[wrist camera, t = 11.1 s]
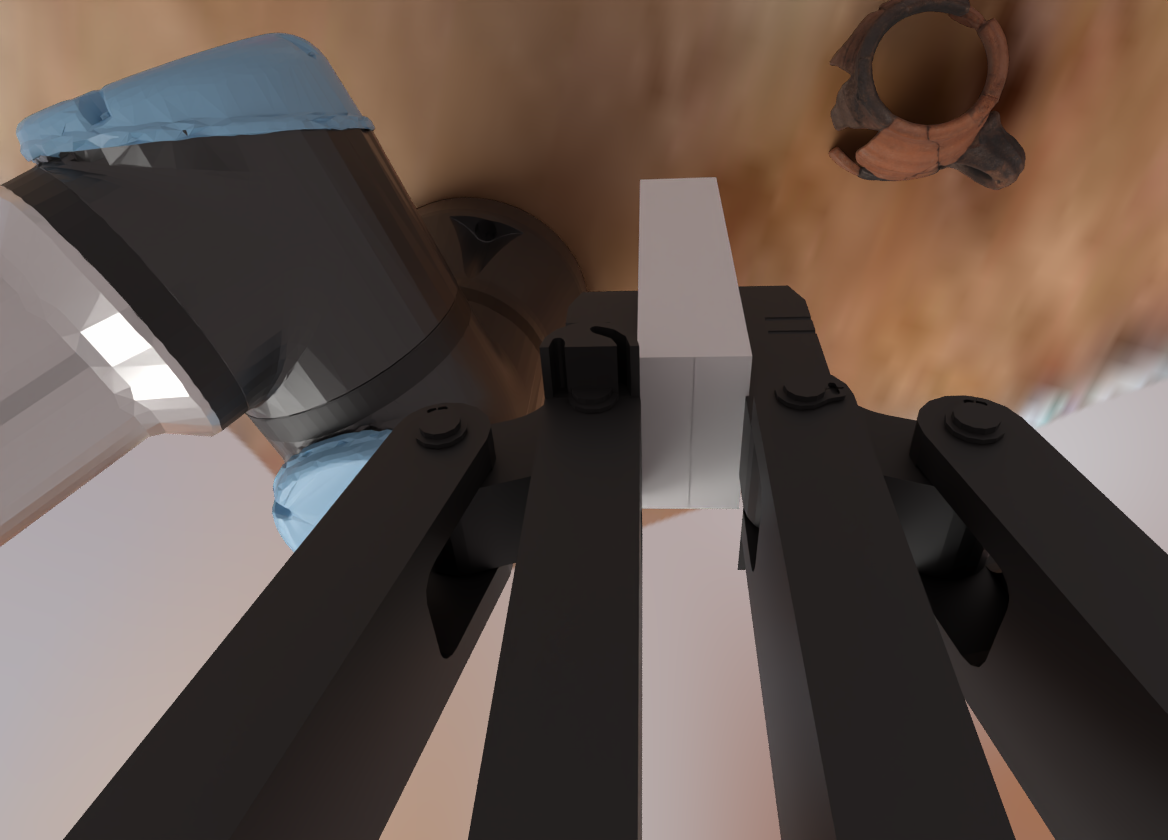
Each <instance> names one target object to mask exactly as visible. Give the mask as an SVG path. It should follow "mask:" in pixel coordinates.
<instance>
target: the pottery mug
mask: <svg viewBox="0 0 1168 840" xmlns="http://www.w3.org/2000/svg"><path fill="white" fill-rule="evenodd" d="M928 11H935V12H943V13H948V15H949V16H950V17H951V18H952V19H953V20H955V21H957V22H959V23H961V24H963V25H965V26H967V27H970V28H974V29H975V30H976V31H977V33H978V36H979V37H980V39H981V41H982V43H983V45H984V48H985V51H986V55H987V61H988V74H987V79H986V83H985V86H984V89H983V91H982V93H981V94H980V96H979V99H978V100H977V101H976V103H975V104H974V105H973V106H972V107H971V108H970V109H969V110H968V111H966V112H965V113H964V114H962V115H961V116H959V117H958V118H955V119H953V120H951V121H948V122H945V123H942V124H935V125H923V124H916V123H912V122H909V121H906V120H904V119H902V118H900V117H898V116H896V115H893V114H892V113H891V112H890V110H889V109H888V108H887V107H886V106H885V105H884V104H883V102H882V101H881V99H880V98H879V96H878V94H877V91H876V88H875V85H874V81H873V75H872V61H873V57H874V53H875V51H876V48H877V46H878V44H879V42H880V40H881V38H882V37H883V36H884V34H885V33H886V32H887V31H888V30H889V29H890V28H891V27H892V26H893V25H895V24H896V23H897V22H899V21H900V20H902V19H904V18H906V17H908V16H911V15H914V14H917V13H921V12H928ZM829 64H830V65H832V66H834V65H836V66H838V67H839V68H841V69H843V70H845V71H846V72H848V73H849V74H850V75H851V77H850V79H849V80H848V81H847V82H845V83H844V84H843V85H842V87H841V89H840V91H839V92H838V95H837V99H836V104H835V106H834V107H833V109H832V111H831V118H832V122H833V125H834V127H835V129H836V130H837V131H840V130H843V129H845V128H847V127H850V128H854V129H861V128H864V129H873V130H878V133H877V134H876V135H875V136H874V137H873V138H872V139H871V140H870V141H869V142H868V143H867V144H866V145H864V146H863V147H861V148H859V149H858V150H857V151H856V161H857V162H858V163H859V164H860V165H862V166H863V167H861V166H859V165H857V164H856V163H855V162H853V161H852V160H851V159H850V158H849V157H848V156H847V155H846V154H844V153H843V151H842V150H841V149H840V148H838V147H835V148H833V149H832V150H831V151H829V156H830V157H831V158H832V159H833V160H834V162H835V163H837V164H838V165H839V166H840V167H842V168H843V169H845V170H846V171H849V172H850V173H852V174H854V175H857V176H858V177H860V178H862V179H866V180H880V181H901V180H910V179H917V178H922V177H926V176H929V175H932V174H935V173H937V172H938V171H939V170H941V169H944V168H946V167H950V168H954V169H957V170H959V171H960V172H962V173H963V174H965V175H966V176H968V177H969V178H971V179H972V180H974V181H975V182H977V183H979V184H981V185H983V186H985V187H987V188H990V189H993V190H999V189H1001V188H1004V187H1007V186H1009V185H1011V184H1012V183H1014V182H1015V181H1016V180H1017V178H1018V176H1019V174H1020V173H1021V172H1022V171H1023V169H1024V166H1025V152H1024V150H1023V148H1022V147H1021V145H1020V144H1019V143H1018V142H1017V140H1016V139H1015V138H1014V137H1013V136H1011V135H1010V134H1009V133H1007V132H1006V131H1005V129H1004V128H1003V127H1002V124H1001V121H1000V114H999V113H998V112H997V111H992V112H990V111H991V109H992V108H993V107H994V106H995V104H996V103H998V101H999V98H1000V95H1001V92H1002V90H1003V88H1004V85H1005V81H1006V78H1007V73H1008V67H1009V53H1008V46H1007V40H1006V36H1005V35H1004V32H1003V30H1002V28H1001V26H1000V25H999V23H998V21H997V20H996V19H995V18H992V19H990V20H988V21H986V20H984V17H983V16H982V15H981V14H980V13H979V12H978V11H977V10H976V9H974V8H973V7H972V6H970V3H969V0H890V1H888V2H886V3H884V4H882V5H881V6H880V7H879V11H876V12H873V13H870V14H868V15H867V16H866V17H865V18H864V19H863V21H862V22H861V23H860V24H859V25H858V27H857V28H856V29H855V31H854V32H853V34H852V35H851V36H850V38H849V39H848V40H847V41H846V42H845V44H844V45H843V46H842V47H841V48H840V49H839V50H838V51H837V52H836V54H835V55H834V56H833V58H832V59H831V60H830V62H829ZM989 112H990V113H989Z"/></svg>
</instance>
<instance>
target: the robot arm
mask: <svg viewBox="0 0 1168 840" xmlns="http://www.w3.org/2000/svg"><path fill="white" fill-rule="evenodd" d="M373 130H375V127H374V125H373V123H372V121H371V120H370V119H368V118H367V117H365V116H362V114H361V113H360V111H359V110H358V108H357V106H356V105H355V103H354V102H353V100H352V98H351V97H350V95H349V94H348V92H347V90H346V89H345V87H344V86H343V84H342V82H341V81H340V79H339V78H338V76H337V74H336V73H335V71H334V70H333V68H332V66H331V65H330V63H329V62H328V60H327V59H326V57H325V56H324V55H323V54H322V53H321V51H320V50H319V49H318V48H316V47H315V46H314V45H313V44H311V43H310V42H308V41H306V40H305V39H303V38H300V37H298V36H295V35H291V34H286V33H270V34H264V35H259V36H255V37H251V38H247V39H243V40H239V41H236V42H232V43H229V44H225V45H222V46H219V47H215V48H212V49H209V50H206V51H202V52H199V53H196V54H193V55H190V56H187V57H184V58H181V59H178V60H174V61H172V62H169V63H166V64H163V65H160V66H157V67H154V68H151V69H149V70H146V71H143V72H140V73H137V74H134V75H131V76H129V77H126V78H124V79H121V80H118V81H116V82H113V83H110V84H108V85H106V86H104V87H103V88H102V89H101V90H94V91H91V92H88V93H86V94H83V95H81V96H79V97H76V98H74V99H71V100H66V101H62V102H60V103H57V104H55V105H52V106H50V107H48V108H45V109H43V110H41V111H39V112H36V113H34V114H32V115H30V116H28V117H26V118H25V119H24V120H22V121H21V122H20V123H19V124H18V126H17V129H16V135H17V137H18V140H19V142H20V145H21V149H20V152H21V154H22V155H23V156H24V157H25V158H26V160H27V161H32V162H33V163H36V164H37V165H36V166H34V167H33V168H32V169H30V170H28V171H27V172H25V173H23V174H21V175H19V176H17V177H15V178H13V179H12V180H10V181H8V182H6V183H4V184H2V185H0V547H1V546H2V545H4V544H5V543H6V542H8V541H9V540H10V539H12V538H13V537H14V536H16V535H17V534H18V533H20V532H21V531H23V530H24V529H25V528H27V527H28V526H29V525H31V524H32V523H33V522H35V521H36V520H37V519H39V518H40V517H41V516H43V515H44V514H46V513H47V512H48V511H50V510H51V509H52V508H53V507H55V506H56V505H57V504H59V503H60V502H62V501H63V500H64V499H66V498H67V497H68V496H70V495H71V494H72V493H74V492H75V491H77V490H78V489H79V488H81V487H82V486H83V485H85V484H86V483H87V482H89V481H90V480H91V479H93V478H94V477H95V476H97V475H98V474H99V473H101V472H102V471H104V470H105V469H106V468H108V467H109V466H110V465H112V464H113V463H114V462H116V461H117V460H118V459H120V458H121V457H123V456H124V455H125V454H126V453H128V452H129V451H131V450H132V449H133V448H135V447H136V446H137V445H139V444H140V443H141V442H143V441H144V440H145V439H147V438H148V437H151V436H155V435H159V434H164V433H165V434H181V435H196V436H211V437H212V436H214V435H216V434H218V433H219V432H221V431H222V430H224V429H225V428H226V427H228V426H229V425H230V424H231V423H233V422H234V421H235V420H237V419H238V418H239V417H241V416H242V415H243V414H244V413H245V414H247V415H248V417H249V418H250V419H251V420H252V421H253V423H254V424H255V425H256V426H257V427H258V429H259V430H260V431H261V432H262V434H263V435H264V436H265V437H266V439H267V440H268V441H269V442H270V443H271V445H272V446H273V447H274V448H275V449H276V451H277V452H278V453H279V454H280V456H281V457H282V458H283V460H284V462H285V464H283V465H282V467H281V469H280V470H279V472H278V474H277V475H276V477H275V479H274V484H273V490H274V497H275V500H274V504H273V508H272V510H273V511H272V514H273V518H274V522H275V525H276V527H277V530H278V531H279V533H280V535H281V537H282V538H283V540H284V541H285V543H286V544H287V545H288V546H289V548H290V549H291V550H292V551H293V552H294V554H293V555H292V556H291V557H290V558H289V560H288V561H287V562H286V563H285V565H284V566H283V567H282V568H281V570H280V571H279V572H278V573H277V575H276V576H275V577H274V579H273V580H272V581H271V582H270V583H269V585H268V586H267V587H266V588H265V589H264V591H263V592H262V593H261V594H260V596H259V597H258V598H257V599H256V601H255V602H254V603H253V604H252V606H251V607H250V608H249V609H248V611H247V612H246V613H245V614H244V616H243V617H242V618H241V619H240V621H239V622H238V623H237V624H236V626H235V627H234V628H233V630H232V631H231V632H230V633H229V634H228V635H227V637H226V638H225V639H224V641H223V642H222V643H221V644H220V645H219V647H218V648H217V650H215V652H214V653H213V654H212V655H211V657H210V658H209V659H208V660H207V662H206V663H205V664H204V665H203V666H202V668H201V669H200V670H199V671H198V673H197V674H196V675H195V677H194V678H193V679H192V680H191V681H190V683H189V684H188V685H187V687H186V688H185V689H184V690H183V691H182V693H181V694H180V695H179V696H178V698H177V699H176V700H175V702H174V703H173V704H172V705H171V706H170V707H169V709H168V710H167V711H166V712H165V714H164V715H163V716H162V717H161V719H160V720H159V721H158V722H157V724H156V725H155V726H154V728H153V729H152V730H151V731H150V732H149V734H148V735H147V736H146V737H145V739H144V740H143V741H142V742H141V743H140V745H139V746H138V747H137V748H136V750H135V751H134V752H133V754H132V755H131V756H130V757H129V758H128V760H127V761H126V762H125V763H124V765H123V766H122V767H121V768H120V770H119V771H118V772H117V773H116V775H115V776H114V777H113V778H112V780H111V781H110V782H109V783H108V784H107V786H106V787H105V788H104V789H103V791H102V792H101V793H100V794H99V796H98V797H97V798H96V800H95V801H94V802H93V803H92V805H91V806H90V807H89V808H88V809H87V811H86V812H85V813H84V815H83V816H82V817H81V818H80V819H79V820H78V822H77V823H76V824H75V825H74V827H73V828H72V829H71V830H70V832H69V833H68V834H67V835H66V837H65V838H64V839H63V840H379V838H380V836H381V834H382V832H383V830H384V828H385V826H386V824H387V822H388V820H389V818H390V816H391V813H392V812H393V810H394V808H395V805H396V804H397V802H398V800H399V798H400V796H401V794H402V791H403V789H404V787H405V786H406V784H407V782H408V780H409V778H410V776H411V773H412V771H413V769H414V767H415V765H416V763H417V761H418V759H419V757H420V755H421V753H422V751H423V749H424V747H425V745H426V743H427V741H428V739H429V737H430V735H431V733H432V731H433V729H434V727H435V725H436V723H437V721H438V719H439V717H440V715H441V713H442V711H443V709H444V707H445V705H446V703H447V701H448V699H449V697H450V695H451V693H452V691H453V689H454V687H455V685H456V683H457V681H458V679H459V677H460V675H461V673H462V671H463V669H464V667H465V665H466V663H467V661H468V659H469V657H470V655H471V653H472V651H473V649H474V647H475V645H476V643H477V641H478V639H479V637H480V635H481V633H482V631H483V629H484V627H485V625H486V622H487V621H488V619H489V617H490V615H491V613H492V611H493V609H494V606H495V605H496V603H497V601H498V598H499V597H500V595H501V593H502V590H503V589H504V587H505V584H506V582H507V581H508V578H509V577H510V574H511V569H512V565H513V563H516V566H515V572H514V578H513V583H512V589H511V595H510V601H509V606H508V613H507V618H506V624H505V630H504V635H503V642H502V647H501V653H500V658H499V664H498V670H497V676H496V681H495V687H494V693H493V699H492V704H491V710H490V716H489V721H488V727H487V733H486V739H485V745H484V750H483V756H482V762H481V768H480V773H479V779H478V785H477V791H476V796H475V802H474V808H473V813H472V819H471V826H470V831H469V837H468V840H642V508H653V509H739V502H740V491H741V493H742V500H743V507H744V508H743V519H742V530H741V540H740V551H739V562H738V570H745V569H746V575H747V582H748V590H749V598H750V605H751V613H752V621H753V628H754V636H755V644H756V651H757V658H758V666H759V673H760V681H761V689H762V697H763V705H764V712H765V720H766V727H767V735H768V743H769V750H770V757H771V765H772V773H773V780H774V788H775V795H776V804H777V811H778V818H779V826H780V834H781V840H1016V839H1015V836H1014V834H1013V831H1012V828H1011V826H1010V823H1009V820H1008V817H1007V814H1006V812H1005V809H1004V806H1003V804H1002V801H1001V798H1000V795H999V792H998V790H997V787H996V784H995V782H994V779H993V776H992V773H991V770H990V768H989V765H988V762H987V759H986V757H985V754H984V751H983V749H982V746H981V743H980V740H979V737H978V735H977V732H976V729H975V726H974V724H973V721H972V718H971V715H970V713H969V710H968V707H967V705H966V702H965V700H966V701H967V703H968V704H969V706H970V708H971V709H972V711H973V712H974V714H975V715H976V717H977V719H978V720H979V722H980V723H981V725H982V726H983V728H984V729H985V730H986V733H987V734H988V736H989V737H990V739H991V740H992V742H993V743H994V745H995V746H996V748H997V750H998V751H999V753H1000V754H1001V756H1002V757H1003V759H1004V760H1005V762H1006V763H1007V765H1008V767H1009V768H1010V770H1011V771H1012V772H1013V774H1014V776H1015V777H1016V779H1017V780H1018V782H1019V784H1020V785H1021V787H1022V788H1023V790H1024V791H1025V793H1026V794H1027V796H1028V798H1029V799H1030V801H1031V802H1032V804H1033V805H1034V807H1035V809H1036V810H1037V811H1038V813H1039V815H1040V816H1041V818H1042V819H1043V821H1044V822H1045V824H1046V826H1047V827H1048V829H1049V830H1050V832H1051V833H1052V835H1053V836H1054V838H1055V840H1168V554H1167V553H1166V552H1164V551H1163V550H1162V549H1161V548H1160V547H1159V546H1158V545H1157V544H1156V543H1155V542H1154V541H1153V540H1152V539H1151V538H1149V536H1147V535H1146V534H1145V533H1144V532H1143V531H1142V530H1141V529H1140V528H1139V527H1138V526H1137V525H1136V524H1135V523H1134V522H1132V521H1131V520H1130V519H1129V518H1128V517H1127V516H1126V515H1125V514H1124V513H1123V512H1122V511H1121V510H1120V509H1119V508H1117V506H1115V505H1114V504H1113V503H1112V502H1111V501H1110V500H1109V499H1108V498H1107V497H1106V496H1105V495H1104V494H1103V493H1102V492H1101V491H1099V490H1098V489H1097V488H1096V487H1095V486H1094V485H1093V484H1092V483H1091V482H1090V481H1089V480H1088V479H1087V478H1086V477H1085V476H1084V475H1082V474H1081V473H1080V472H1079V471H1078V470H1077V469H1076V468H1075V467H1074V466H1073V465H1072V464H1071V463H1070V462H1069V461H1068V460H1066V458H1064V457H1063V456H1062V455H1061V454H1060V453H1059V452H1058V451H1057V450H1056V449H1055V448H1054V447H1053V446H1052V445H1050V443H1048V442H1047V441H1046V440H1045V439H1044V438H1043V437H1042V436H1041V435H1040V434H1039V433H1038V432H1037V431H1036V430H1035V429H1034V428H1033V427H1031V426H1030V425H1029V424H1028V423H1027V422H1026V421H1025V420H1024V419H1023V418H1022V417H1020V416H1019V415H1017V414H1016V413H1014V412H1013V411H1012V410H1010V409H1009V408H1007V407H1005V406H1003V405H1000V404H997V403H995V402H992V401H990V400H987V399H983V398H978V397H977V398H976V397H972V396H944V397H941V398H938V399H934V400H931V401H929V402H928V403H926V404H925V405H924V406H923V407H922V408H921V409H920V410H919V413H918V417H917V421H915V420H910V419H905V418H900V417H894V416H889V415H884V414H881V413H877V412H873V411H870V410H867V409H865V408H862V407H860V406H858V405H857V402H856V399H855V396H854V394H853V393H852V391H851V390H850V389H849V387H848V386H847V385H846V384H845V383H844V382H842V381H840V380H839V379H837V378H836V377H834V376H833V375H830V372H829V369H828V366H827V363H826V360H825V357H824V354H823V351H822V348H821V345H820V342H819V339H818V337H817V334H815V328H814V325H813V322H812V320H811V316H810V313H809V310H808V307H807V304H806V301H805V299H803V298H802V297H801V296H800V295H798V294H797V293H796V292H795V291H794V290H792V289H791V288H790V287H789V286H746V287H738V283H737V278H736V273H735V268H734V263H733V258H732V253H731V248H730V243H729V238H728V234H727V229H726V224H725V219H724V214H723V209H722V204H721V199H720V194H719V189H718V184H717V179H716V177H707V178H677V179H646V180H640V213H639V271H638V291H607V292H587V291H586V285H585V282H584V278H583V275H582V273H581V270H580V268H579V266H578V264H577V262H576V260H575V258H574V256H573V255H572V253H571V252H570V250H569V249H568V248H567V246H566V245H565V244H564V242H563V241H562V240H561V239H560V238H559V237H558V236H557V235H556V234H555V233H554V232H553V231H552V230H551V229H550V228H548V227H547V226H546V225H545V224H543V223H542V222H541V221H539V220H538V219H536V218H535V217H533V216H532V215H530V214H528V213H526V212H524V211H522V210H520V209H518V208H516V207H513V206H510V205H508V204H505V203H501V202H498V201H493V200H488V199H482V198H452V199H446V200H441V201H437V202H434V203H431V204H428V205H425V206H423V207H421V208H419V209H416V207H415V206H414V204H413V202H412V200H411V198H410V197H409V195H408V193H407V191H406V190H405V188H404V186H403V184H402V182H401V181H400V179H399V177H398V175H397V173H396V172H395V170H394V168H393V166H392V165H391V163H390V161H389V159H388V157H387V156H386V154H385V152H384V150H383V149H382V147H381V145H380V143H379V141H378V140H377V138H376V136H375V134H374V133H373ZM964 698H965V699H964Z"/></svg>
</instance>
